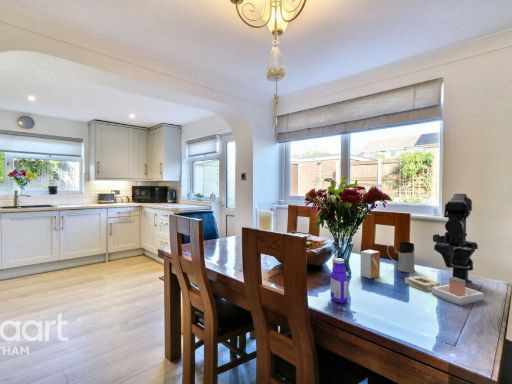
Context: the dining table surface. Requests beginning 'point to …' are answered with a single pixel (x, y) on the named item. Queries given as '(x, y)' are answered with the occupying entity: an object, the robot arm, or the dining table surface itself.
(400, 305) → the dining table surface
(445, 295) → the parts tray
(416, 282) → the socket
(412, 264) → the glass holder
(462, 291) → the block
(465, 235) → the robot arm
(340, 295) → the bottle
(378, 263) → the small box
